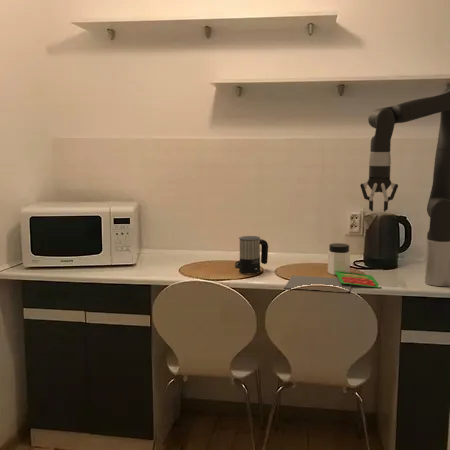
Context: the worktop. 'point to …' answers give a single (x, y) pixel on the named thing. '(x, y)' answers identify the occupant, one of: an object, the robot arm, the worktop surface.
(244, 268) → the milk frother
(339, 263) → the jar
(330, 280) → the mat
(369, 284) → the tomato puree packet
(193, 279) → the worktop surface
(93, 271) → the worktop surface
